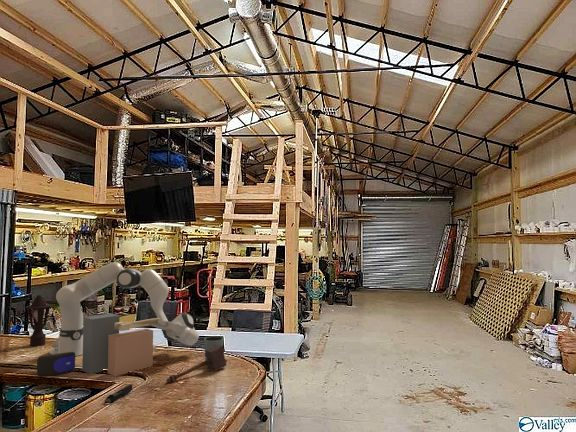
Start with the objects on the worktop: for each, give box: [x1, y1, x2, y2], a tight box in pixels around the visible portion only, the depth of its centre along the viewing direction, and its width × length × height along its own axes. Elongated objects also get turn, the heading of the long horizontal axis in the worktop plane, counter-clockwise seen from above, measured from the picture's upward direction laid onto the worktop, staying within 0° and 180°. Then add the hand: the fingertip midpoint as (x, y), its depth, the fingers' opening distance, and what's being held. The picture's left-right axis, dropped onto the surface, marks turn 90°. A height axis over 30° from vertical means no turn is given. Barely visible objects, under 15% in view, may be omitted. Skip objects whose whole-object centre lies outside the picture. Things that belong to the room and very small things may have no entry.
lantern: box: [25, 294, 53, 347], centre depth 263 cm, size 15×15×30 cm
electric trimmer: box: [104, 384, 133, 404], centre depth 177 cm, size 4×16×3 cm, turn 166°
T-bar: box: [115, 317, 161, 332], centre depth 218 cm, size 7×23×3 cm, turn 140°
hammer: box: [165, 345, 228, 383], centre depth 206 cm, size 7×33×10 cm, turn 139°
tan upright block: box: [107, 328, 154, 377], centre depth 214 cm, size 7×20×18 cm, turn 140°
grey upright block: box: [81, 312, 121, 375], centre depth 215 cm, size 9×14×26 cm, turn 140°
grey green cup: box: [203, 335, 224, 362], centre depth 228 cm, size 10×10×12 cm
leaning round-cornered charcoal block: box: [36, 352, 76, 378], centre depth 207 cm, size 16×5×9 cm, turn 124°
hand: (155, 320), depth 224 cm, fingers closed on T-bar, 3 cm apart
